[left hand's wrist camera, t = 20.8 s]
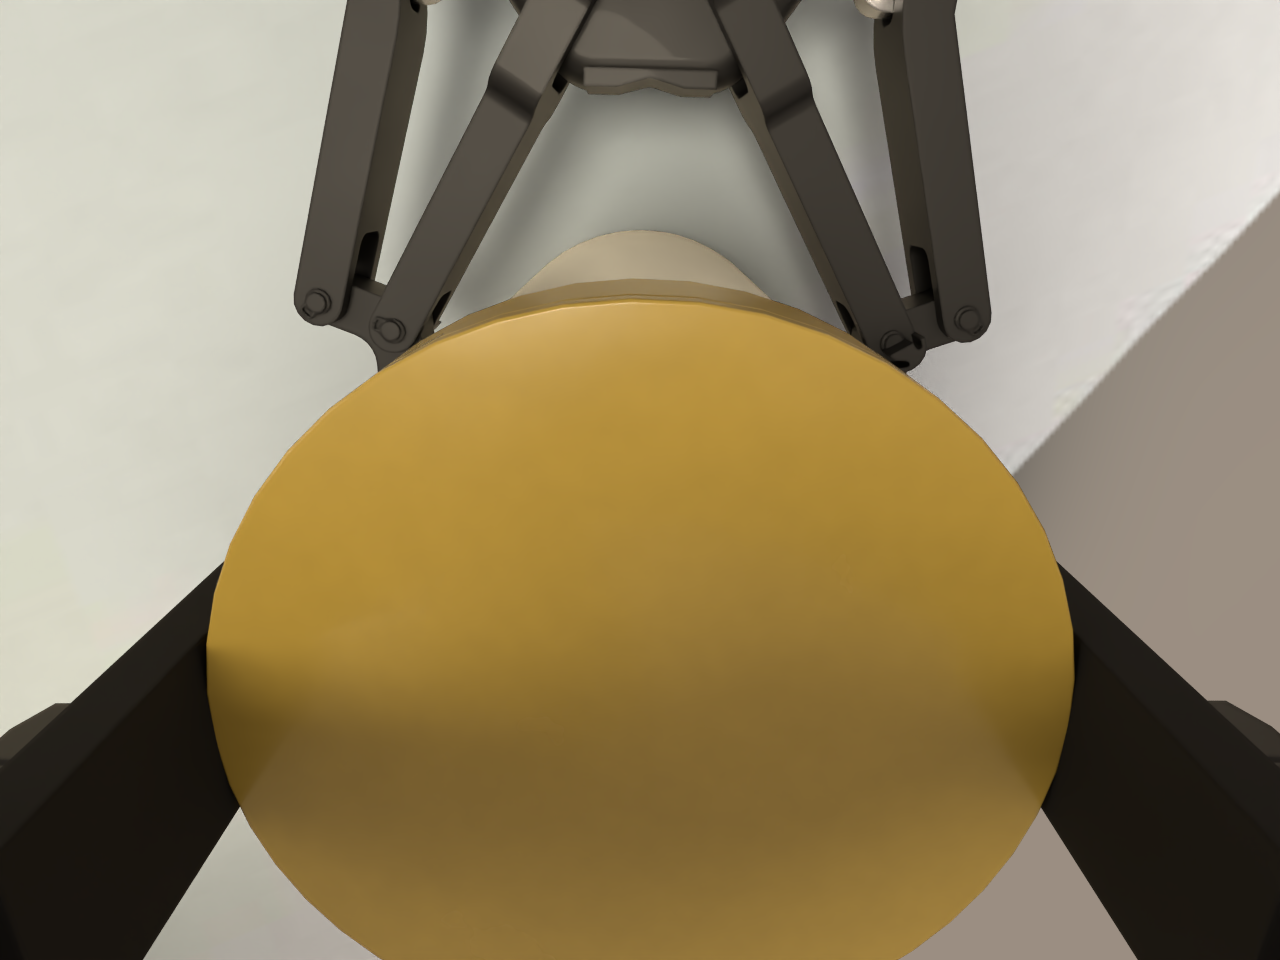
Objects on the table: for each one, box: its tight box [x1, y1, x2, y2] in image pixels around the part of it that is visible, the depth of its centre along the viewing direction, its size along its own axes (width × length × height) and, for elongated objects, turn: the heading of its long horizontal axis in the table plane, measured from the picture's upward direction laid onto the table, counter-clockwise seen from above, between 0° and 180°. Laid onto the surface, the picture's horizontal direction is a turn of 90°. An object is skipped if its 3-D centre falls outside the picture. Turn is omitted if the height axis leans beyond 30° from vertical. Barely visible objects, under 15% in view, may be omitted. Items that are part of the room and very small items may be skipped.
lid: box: [207, 278, 1075, 960], centre depth 11 cm, size 11×11×2 cm
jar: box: [509, 230, 771, 300], centre depth 20 cm, size 10×10×19 cm
